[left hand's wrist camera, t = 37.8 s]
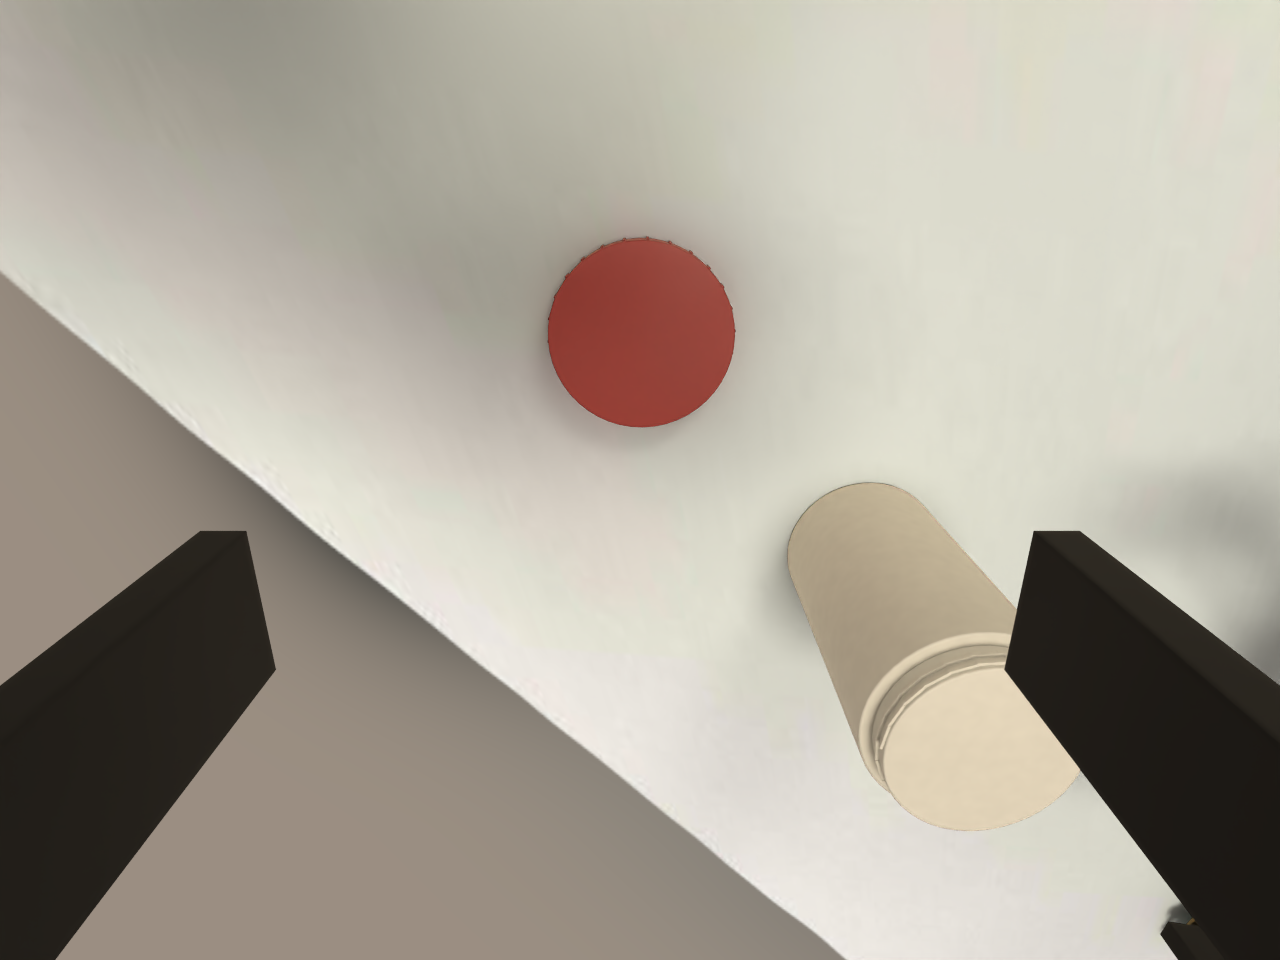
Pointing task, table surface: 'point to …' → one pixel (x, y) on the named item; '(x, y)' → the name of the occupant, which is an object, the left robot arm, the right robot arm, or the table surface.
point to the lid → (641, 332)
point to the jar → (922, 661)
